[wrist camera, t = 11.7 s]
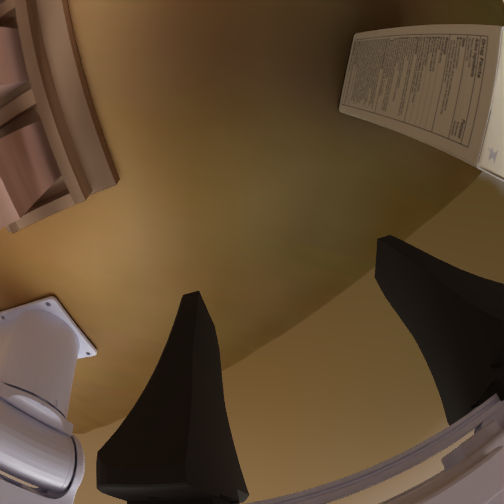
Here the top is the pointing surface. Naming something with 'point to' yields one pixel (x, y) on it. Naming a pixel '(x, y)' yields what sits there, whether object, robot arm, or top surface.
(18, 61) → the rose block
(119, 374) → the top surface
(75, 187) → the walnut rack
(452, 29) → the skincare box
